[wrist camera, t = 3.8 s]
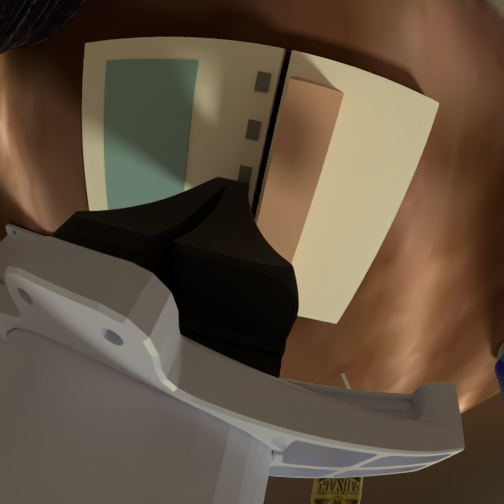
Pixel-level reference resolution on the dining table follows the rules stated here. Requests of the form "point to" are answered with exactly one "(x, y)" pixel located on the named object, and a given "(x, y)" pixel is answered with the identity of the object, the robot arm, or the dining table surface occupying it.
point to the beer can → (500, 369)
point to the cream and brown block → (338, 175)
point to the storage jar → (33, 20)
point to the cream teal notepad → (174, 115)
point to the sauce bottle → (337, 490)
